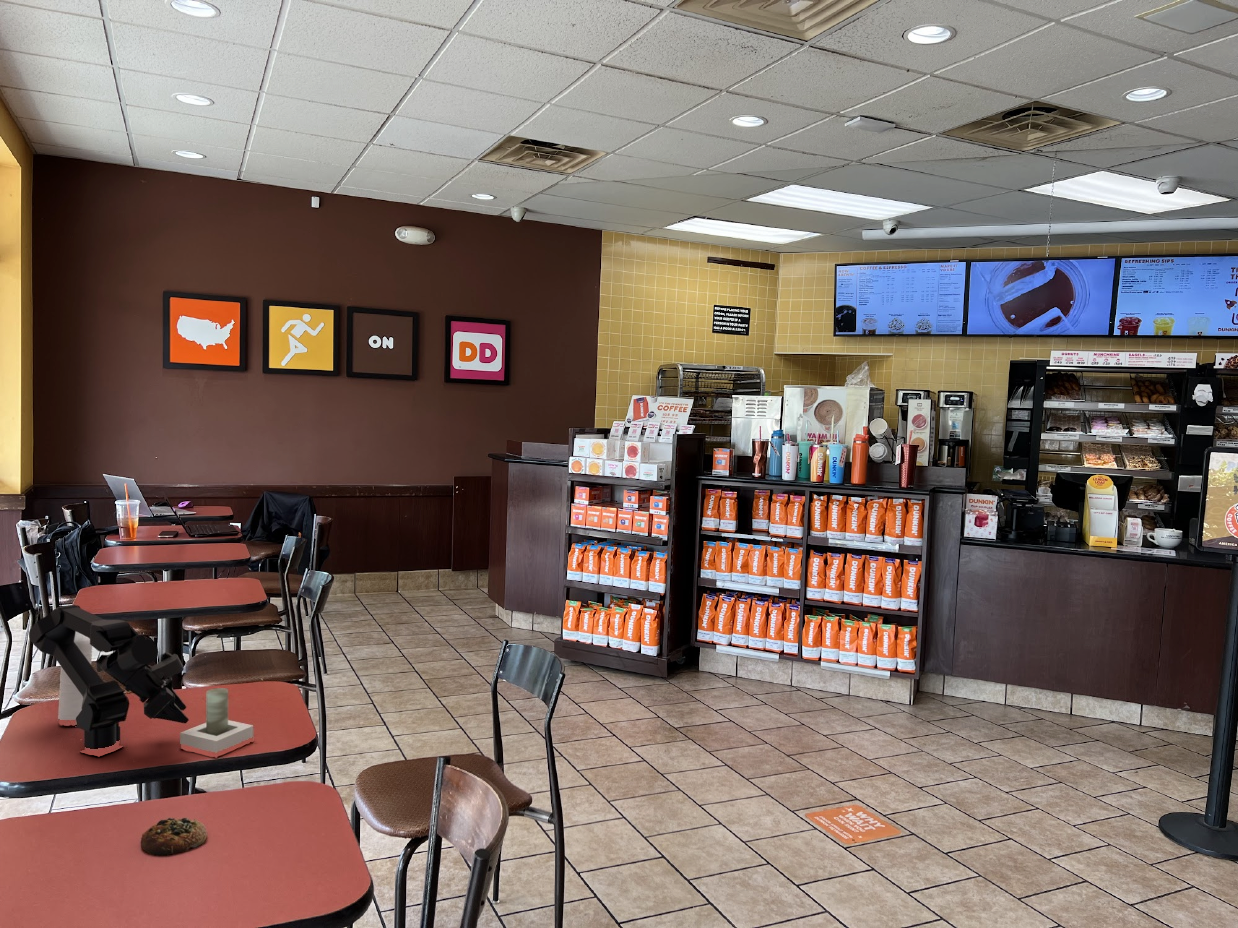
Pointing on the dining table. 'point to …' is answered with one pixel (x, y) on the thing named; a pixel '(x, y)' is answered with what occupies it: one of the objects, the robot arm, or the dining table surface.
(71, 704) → the water bottle
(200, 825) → the bread roll
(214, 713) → the green peg
